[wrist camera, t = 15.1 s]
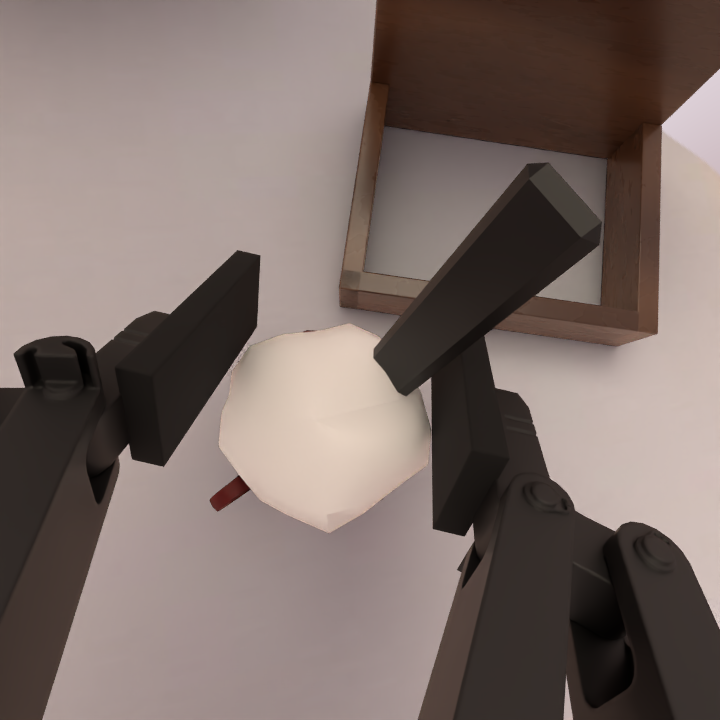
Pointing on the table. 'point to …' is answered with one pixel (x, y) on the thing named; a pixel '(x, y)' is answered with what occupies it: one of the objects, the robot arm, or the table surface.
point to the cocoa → (389, 365)
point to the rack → (541, 125)
